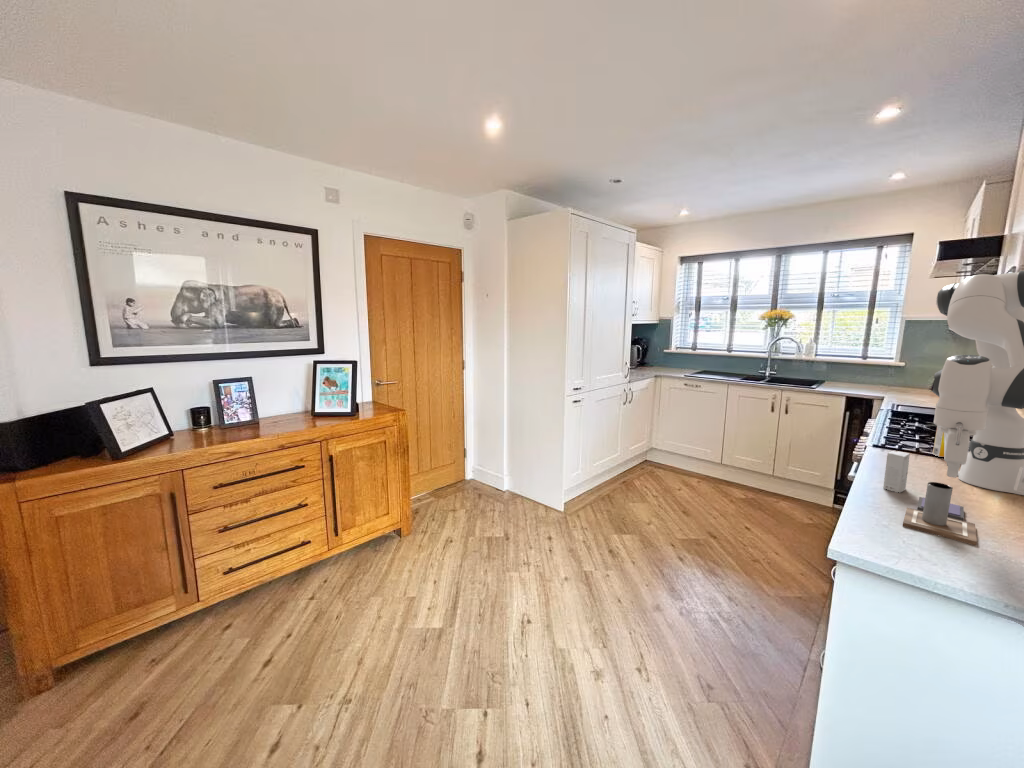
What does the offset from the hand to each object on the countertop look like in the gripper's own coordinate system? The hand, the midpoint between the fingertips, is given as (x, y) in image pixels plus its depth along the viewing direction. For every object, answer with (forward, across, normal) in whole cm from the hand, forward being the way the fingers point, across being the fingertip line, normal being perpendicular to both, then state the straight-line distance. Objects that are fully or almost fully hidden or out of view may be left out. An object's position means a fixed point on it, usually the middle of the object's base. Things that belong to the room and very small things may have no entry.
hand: (951, 471), depth 105 cm
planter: (+15, 0, +2) cm, 15 cm away
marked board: (+15, 0, +1) cm, 16 cm away
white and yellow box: (+17, +81, 0) cm, 83 cm away
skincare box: (+16, +25, +11) cm, 31 cm away
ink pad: (+16, +13, +1) cm, 20 cm away
